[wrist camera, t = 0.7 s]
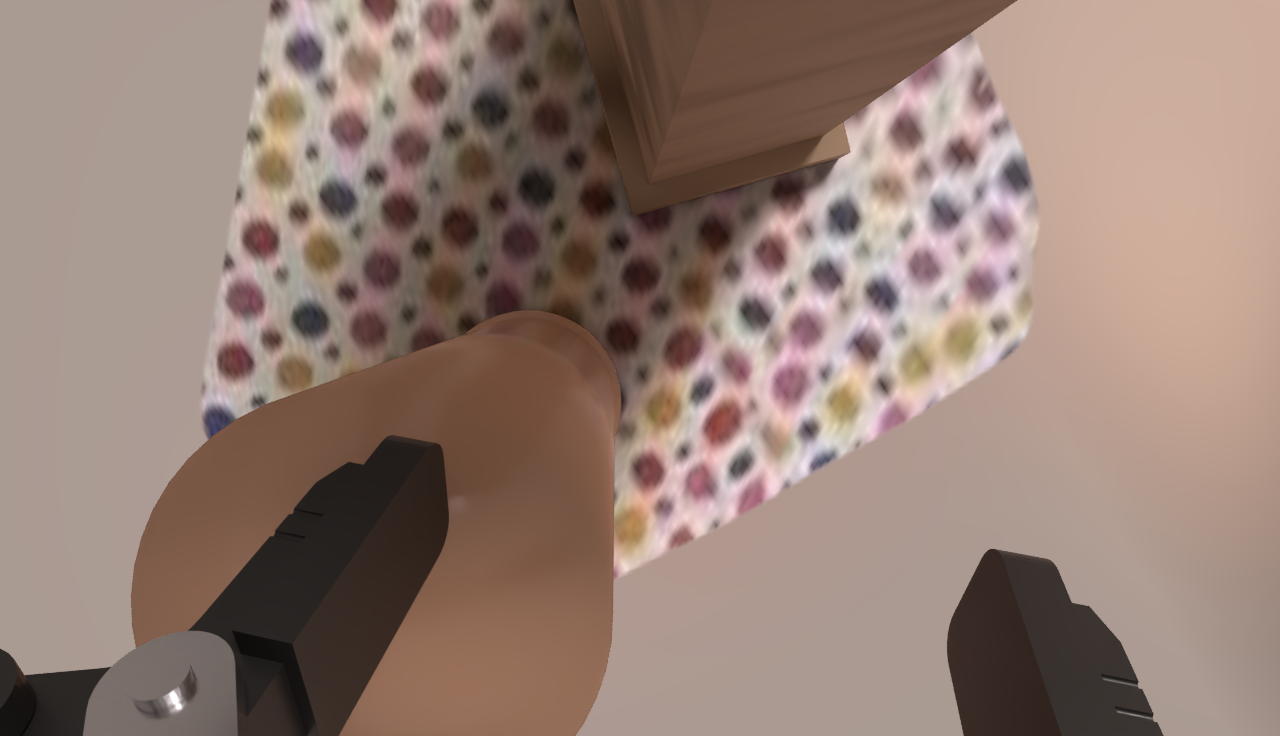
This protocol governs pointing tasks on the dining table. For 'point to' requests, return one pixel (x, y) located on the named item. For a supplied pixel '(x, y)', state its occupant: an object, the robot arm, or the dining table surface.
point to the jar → (477, 532)
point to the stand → (750, 81)
